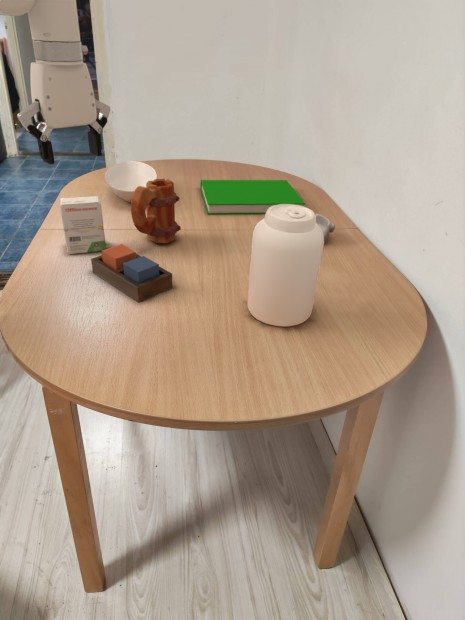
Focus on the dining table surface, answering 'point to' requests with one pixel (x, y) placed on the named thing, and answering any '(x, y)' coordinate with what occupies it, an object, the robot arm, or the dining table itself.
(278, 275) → the can
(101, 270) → the dark wooden tray
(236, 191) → the book
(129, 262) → the cube blue
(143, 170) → the bowl
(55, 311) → the dining table surface
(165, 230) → the mug
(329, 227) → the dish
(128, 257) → the orange block
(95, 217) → the ink box
